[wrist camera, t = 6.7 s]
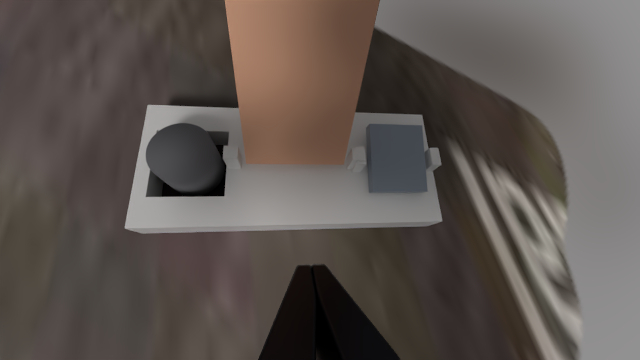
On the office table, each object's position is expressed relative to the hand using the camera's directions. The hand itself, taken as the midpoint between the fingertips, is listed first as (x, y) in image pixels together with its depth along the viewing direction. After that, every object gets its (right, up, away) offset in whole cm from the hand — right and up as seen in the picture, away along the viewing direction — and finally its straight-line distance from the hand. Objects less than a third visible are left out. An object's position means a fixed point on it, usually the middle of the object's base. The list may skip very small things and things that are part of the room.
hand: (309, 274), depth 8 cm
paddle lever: (-1, +4, +9) cm, 10 cm away
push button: (-8, +3, +10) cm, 13 cm away
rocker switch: (+5, +4, +9) cm, 12 cm away
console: (-2, +3, +11) cm, 12 cm away
